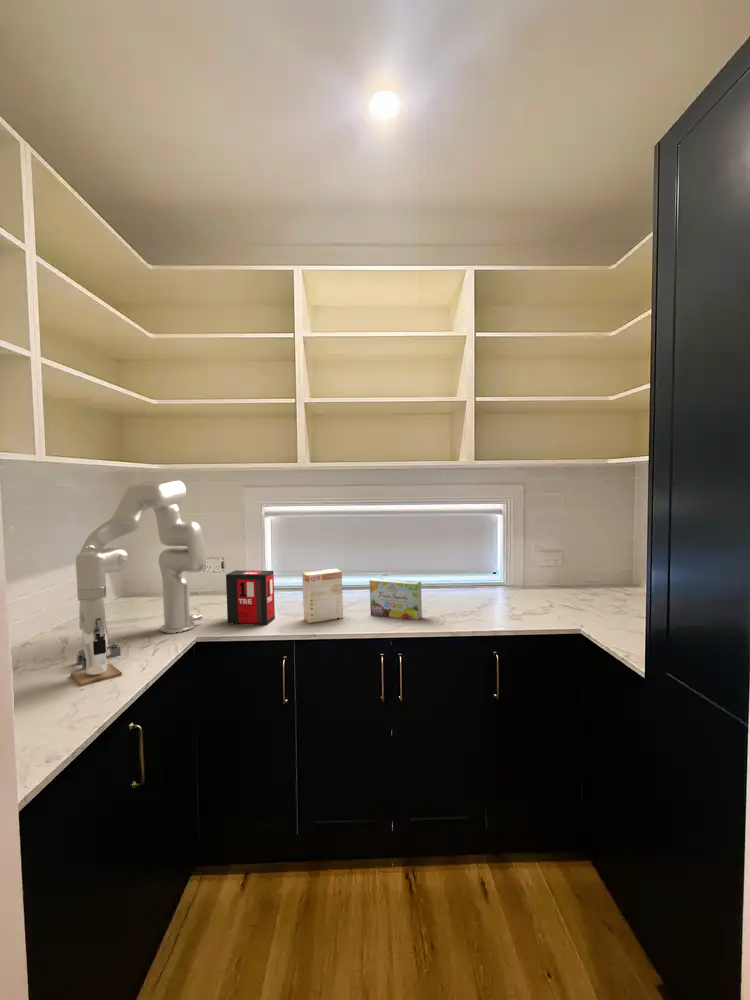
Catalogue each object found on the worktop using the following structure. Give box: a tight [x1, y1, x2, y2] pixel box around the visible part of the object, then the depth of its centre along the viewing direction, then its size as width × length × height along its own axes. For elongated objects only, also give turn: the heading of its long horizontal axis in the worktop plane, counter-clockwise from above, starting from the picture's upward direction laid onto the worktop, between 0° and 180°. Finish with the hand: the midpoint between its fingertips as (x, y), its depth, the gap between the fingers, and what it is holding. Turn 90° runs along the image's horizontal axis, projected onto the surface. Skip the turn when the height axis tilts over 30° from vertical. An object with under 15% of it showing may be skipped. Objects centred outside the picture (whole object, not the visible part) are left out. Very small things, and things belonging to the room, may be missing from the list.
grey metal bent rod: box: [76, 642, 121, 670], centre depth 166 cm, size 12×8×4 cm
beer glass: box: [81, 620, 109, 676], centre depth 154 cm, size 7×7×15 cm
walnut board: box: [70, 663, 123, 687], centre depth 154 cm, size 11×11×1 cm
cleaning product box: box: [225, 569, 276, 626], centre depth 208 cm, size 16×9×20 cm, turn 81°
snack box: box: [369, 577, 423, 621], centre depth 210 cm, size 21×6×15 cm, turn 65°
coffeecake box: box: [301, 568, 344, 624], centre depth 209 cm, size 15×7×20 cm, turn 115°
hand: (94, 650), depth 153 cm, fingers open, 9 cm apart
